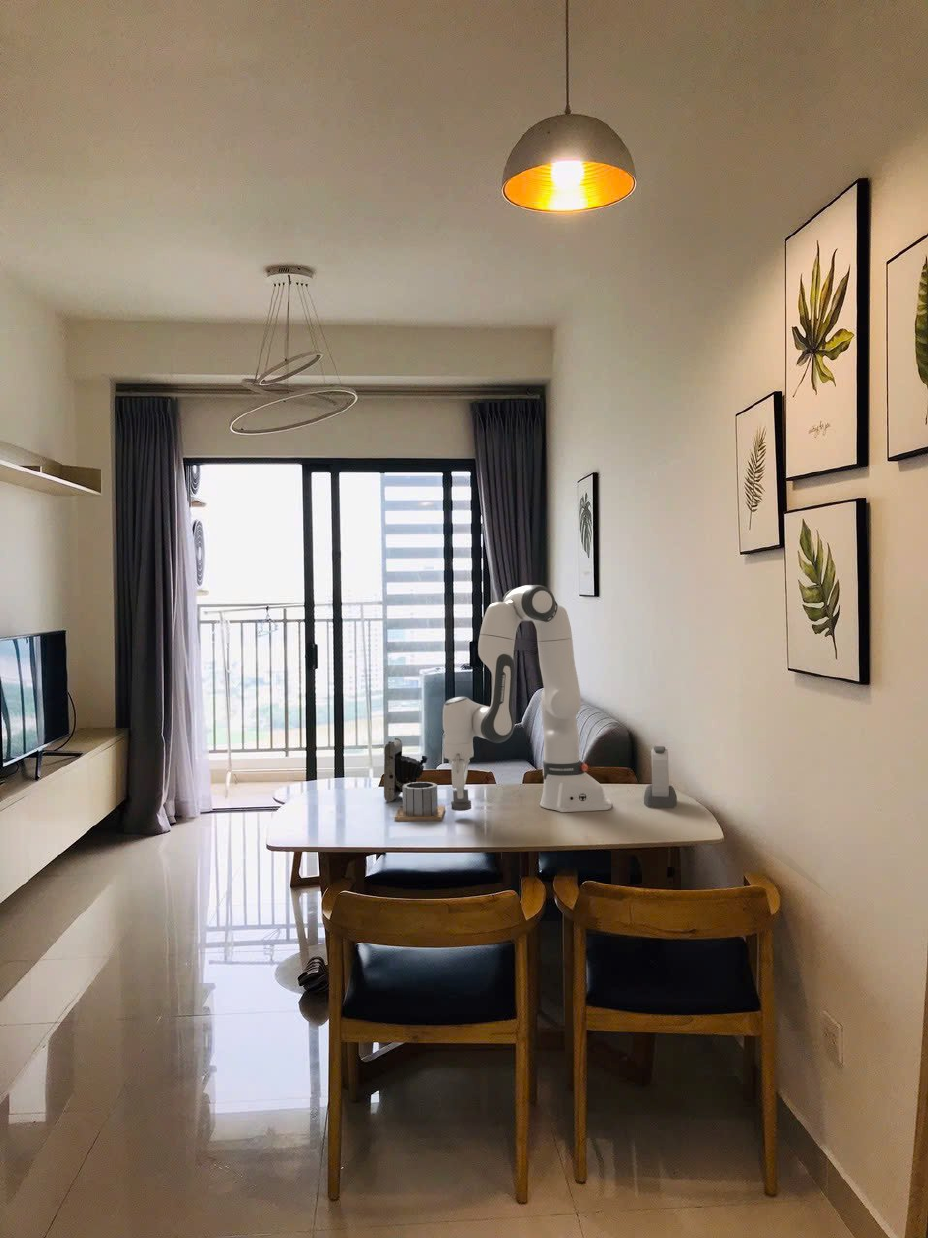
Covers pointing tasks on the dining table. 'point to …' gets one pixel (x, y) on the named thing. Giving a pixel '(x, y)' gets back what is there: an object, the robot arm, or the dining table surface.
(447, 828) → the dining table surface
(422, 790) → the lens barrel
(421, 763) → the vintage camera
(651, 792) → the grey piece
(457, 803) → the rotary knob
